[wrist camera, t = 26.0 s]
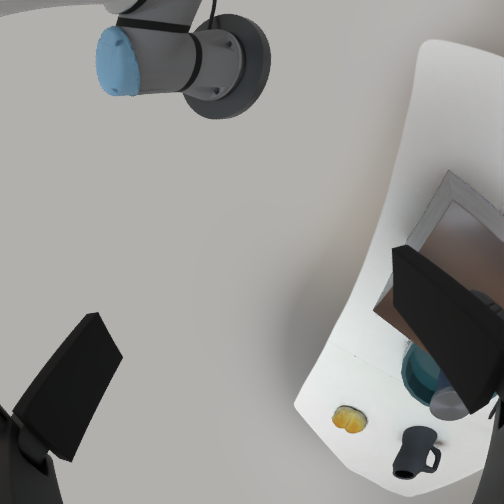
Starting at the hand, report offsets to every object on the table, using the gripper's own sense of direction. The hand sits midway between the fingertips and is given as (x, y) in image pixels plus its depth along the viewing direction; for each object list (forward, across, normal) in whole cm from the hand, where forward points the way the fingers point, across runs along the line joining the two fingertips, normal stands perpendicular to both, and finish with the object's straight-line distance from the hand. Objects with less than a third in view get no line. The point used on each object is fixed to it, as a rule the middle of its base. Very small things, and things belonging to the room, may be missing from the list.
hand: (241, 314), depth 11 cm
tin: (+16, +29, -30) cm, 44 cm away
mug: (+16, +28, -57) cm, 66 cm away
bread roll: (+29, +12, -55) cm, 63 cm away
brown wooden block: (+19, +27, -8) cm, 34 cm away
